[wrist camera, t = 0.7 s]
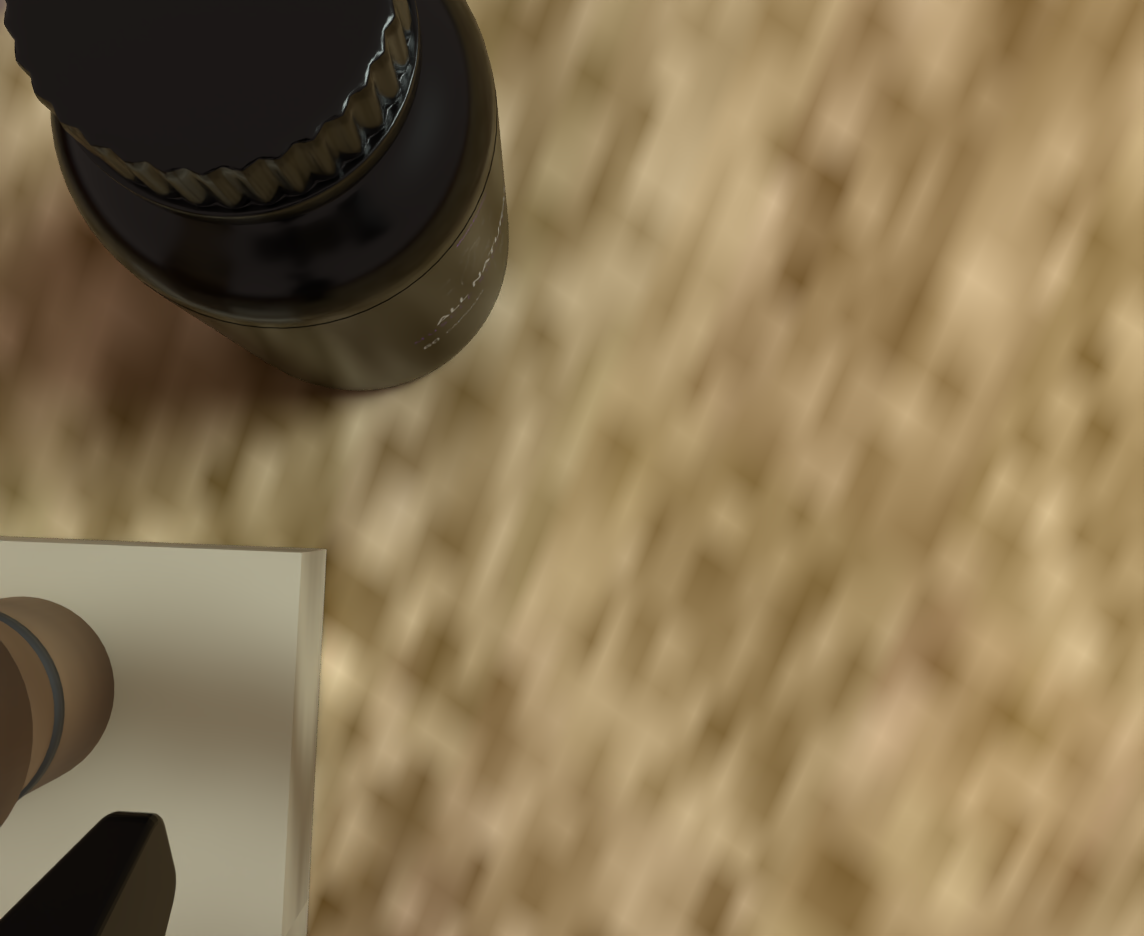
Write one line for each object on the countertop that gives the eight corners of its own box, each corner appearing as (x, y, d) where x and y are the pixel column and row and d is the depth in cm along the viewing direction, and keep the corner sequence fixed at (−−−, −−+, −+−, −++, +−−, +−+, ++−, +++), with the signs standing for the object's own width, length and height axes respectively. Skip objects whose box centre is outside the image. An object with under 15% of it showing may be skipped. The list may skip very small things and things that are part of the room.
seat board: (288, 1277, 24) (258, 1368, 21) (-220, 1265, 23) (-312, 1356, 21) (326, 549, 24) (302, 552, 22) (-166, 529, 24) (-248, 531, 22)
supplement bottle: (536, 365, 25) (529, 221, 13) (241, 418, 24) (-51, 321, 12) (484, 76, 25) (428, -332, 13) (192, 126, 25) (-141, -243, 13)
